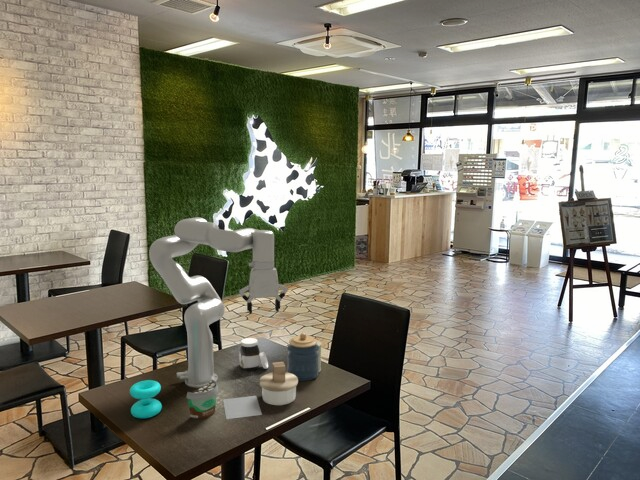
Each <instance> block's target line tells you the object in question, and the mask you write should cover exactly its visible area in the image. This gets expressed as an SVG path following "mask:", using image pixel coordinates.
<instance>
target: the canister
mask: <svg viewBox="0 0 640 480" xmlns="http://www.w3.org/2000/svg"><path fill="white" fill-rule="evenodd" d="M286 348H287V351H288V352H287V354H286V357H287V368H286V372H288V373H291V374H294V375H295V376H296V377H297V378H298V382H299V381H300V382H301V381H302V382H307V381H311V380H314V379H316V378H317V377H318V376H319V373H320V372H319V368H318V361H319V353H318V349H319V346H318V345H317V339H316V338H314V337H313V336H311V335H307V334H306V333H305V332H301V333H300V334H299V335H296V336H293V338H290V340H289V344H287V346H286Z"/></svg>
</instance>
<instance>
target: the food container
mask: <svg viewBox="0 0 640 480" xmlns="http://www.w3.org/2000/svg"><path fill="white" fill-rule="evenodd" d="M218 392H219V386H218V382H216V381H214V380H212V382H211V383H209V384H207V385H204V386H201V387H200V388H196V389H195V390H193V391H192V392H190V391H187V393H186V399H188V401H187V402H188V408H189V417H190V419H194V420H203V419H207V418H210V417H212V416H214V415H215V412H216V406H217V405H216V402H217V393H218Z"/></svg>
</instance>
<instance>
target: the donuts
mask: <svg viewBox="0 0 640 480" xmlns="http://www.w3.org/2000/svg"><path fill="white" fill-rule="evenodd" d="M161 389H162V386H161V383H159V382H158V381H157V380H152V379H145V380H141V381H138V382H136V383H134V384H133V385H131V387H130V389H129V394H130V396H131V397H132V398H134V399H136V400H138V401H136V402H134V403H133V405H132V406H131V408H130V413H131V415H132V416H133V417H134V418H136V419H149V418H153V417H154V416H156V415H158V414H159V413H160V412H161V411H162V408H163V405H162V403H161V401H159V399H156V398H154V397H156V396H157V395H158V394H159V393H160V392H161Z"/></svg>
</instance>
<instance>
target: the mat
mask: <svg viewBox="0 0 640 480" xmlns="http://www.w3.org/2000/svg"><path fill="white" fill-rule="evenodd" d="M222 401H223V408H224V413H225V415H224V416H225V419H226V420H233V419H239V418H247V417H255V416H262V415H263V414H262V410H261V407H260V404H259V400H258V397H257V395H252V396H251V395H249V396H240V397H232V398H231V397H230V398H227V399H226V398H224V399H222Z"/></svg>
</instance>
